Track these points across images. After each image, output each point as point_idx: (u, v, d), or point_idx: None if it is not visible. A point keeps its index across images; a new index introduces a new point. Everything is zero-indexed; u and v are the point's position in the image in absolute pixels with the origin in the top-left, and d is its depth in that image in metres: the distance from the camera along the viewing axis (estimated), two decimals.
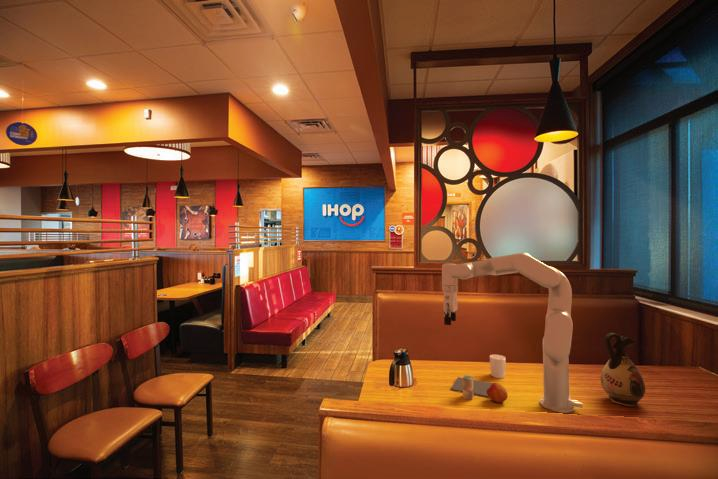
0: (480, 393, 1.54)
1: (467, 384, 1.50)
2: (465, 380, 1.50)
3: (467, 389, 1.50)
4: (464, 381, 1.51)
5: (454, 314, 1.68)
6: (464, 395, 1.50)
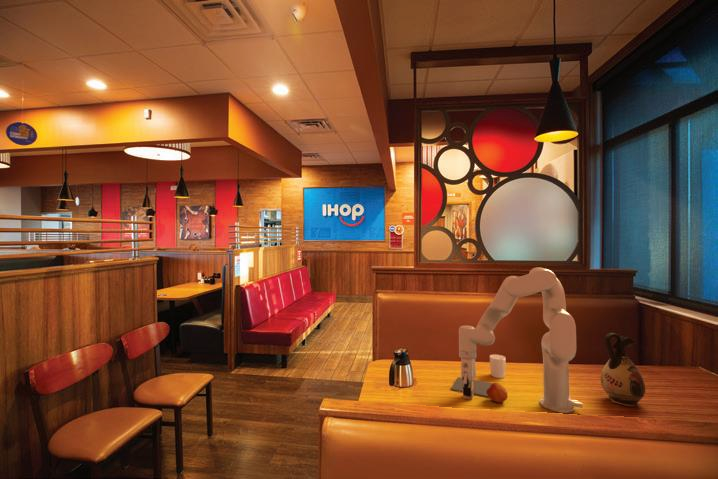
0: (480, 393, 1.54)
1: None
2: None
3: None
4: None
5: None
6: None
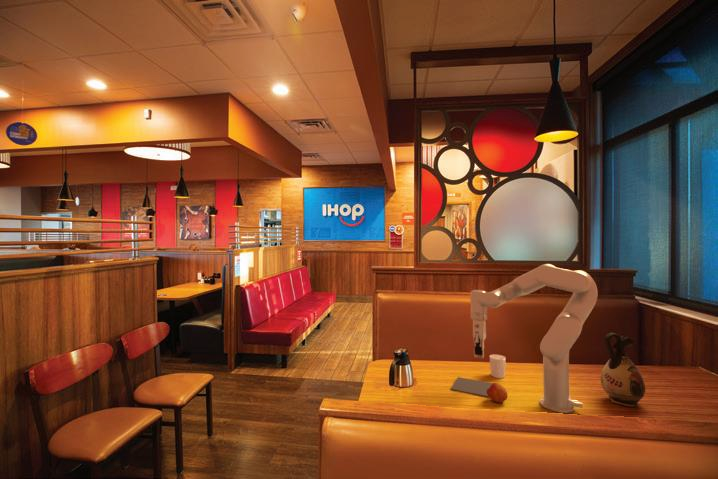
0: (480, 393, 1.54)
1: None
2: None
3: None
4: None
5: None
6: None
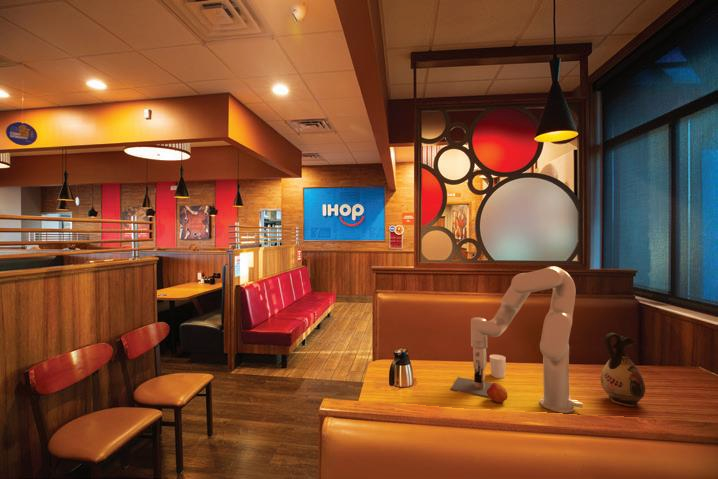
0: (480, 393, 1.54)
1: None
2: None
3: None
4: None
5: None
6: (476, 384, 1.60)
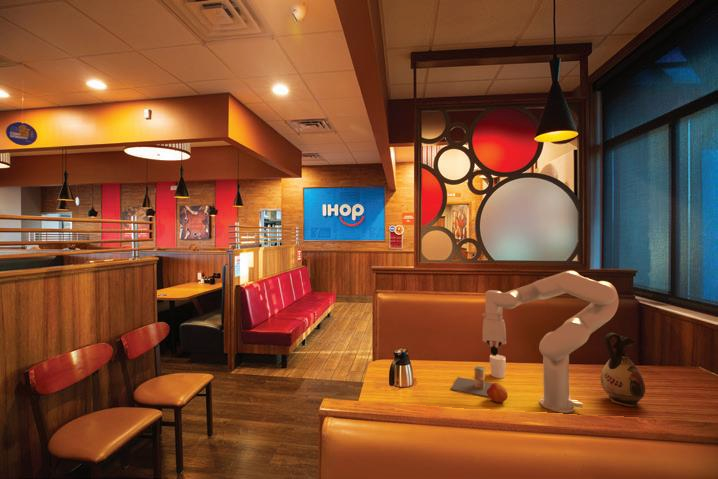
0: (480, 393, 1.54)
1: (479, 374, 1.60)
2: (477, 370, 1.60)
3: (479, 379, 1.60)
4: (476, 371, 1.61)
5: None
6: (476, 384, 1.60)
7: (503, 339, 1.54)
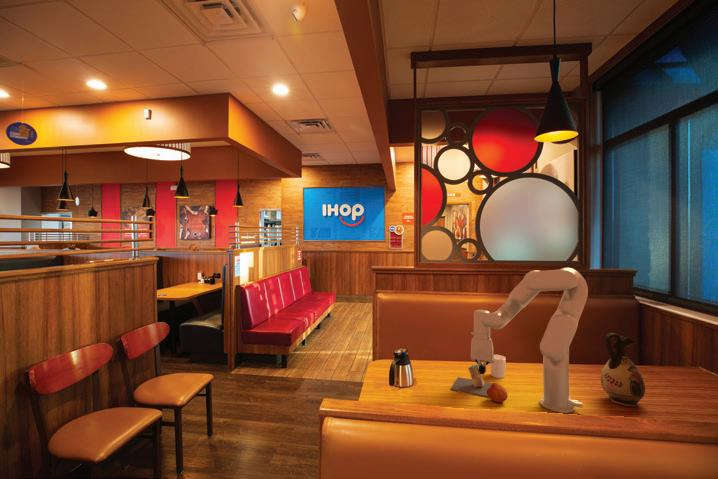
0: (480, 393, 1.54)
1: (474, 372, 1.61)
2: (471, 369, 1.62)
3: (475, 377, 1.61)
4: (470, 370, 1.62)
5: None
6: (475, 384, 1.61)
7: (490, 358, 1.57)
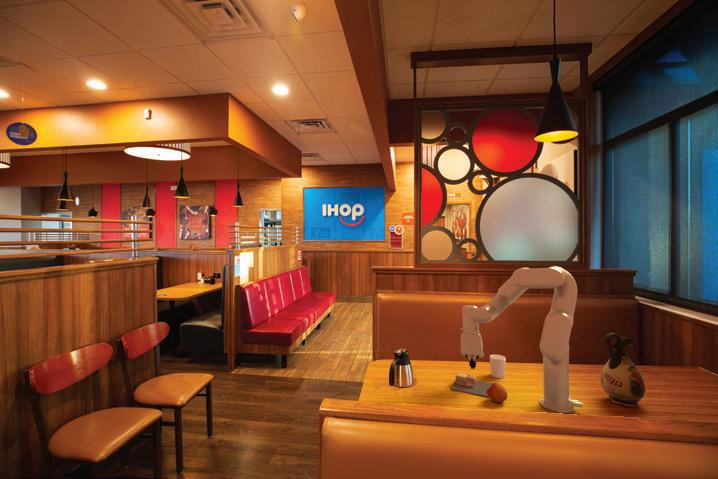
0: (480, 393, 1.54)
1: (460, 380, 1.64)
2: (457, 381, 1.65)
3: (465, 381, 1.63)
4: (458, 382, 1.65)
5: None
6: (471, 384, 1.62)
7: (480, 353, 1.60)
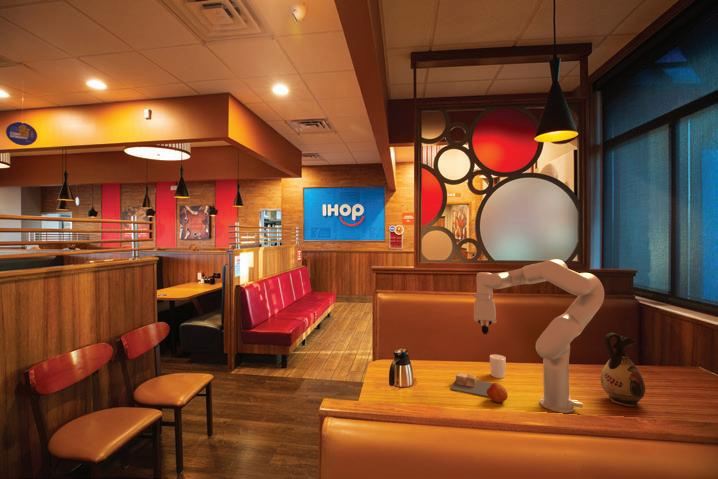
0: (480, 393, 1.54)
1: (460, 380, 1.64)
2: (457, 381, 1.65)
3: (465, 381, 1.63)
4: (458, 382, 1.65)
5: None
6: (471, 384, 1.62)
7: (493, 318, 1.62)
